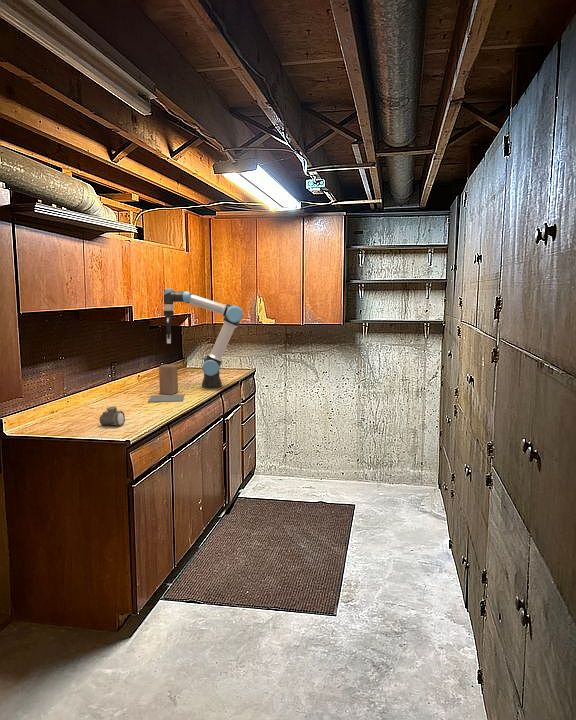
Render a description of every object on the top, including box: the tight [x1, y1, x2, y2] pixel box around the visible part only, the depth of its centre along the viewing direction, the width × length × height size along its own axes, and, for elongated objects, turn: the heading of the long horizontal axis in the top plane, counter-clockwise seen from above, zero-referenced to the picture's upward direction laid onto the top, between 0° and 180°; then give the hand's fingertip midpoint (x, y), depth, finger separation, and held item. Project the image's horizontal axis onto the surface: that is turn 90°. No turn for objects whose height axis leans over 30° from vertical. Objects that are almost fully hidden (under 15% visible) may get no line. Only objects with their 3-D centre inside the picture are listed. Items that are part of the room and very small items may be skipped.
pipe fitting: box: [99, 405, 126, 427], centre depth 291 cm, size 12×8×10 cm
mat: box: [147, 394, 185, 403], centre depth 366 cm, size 22×22×1 cm
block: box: [158, 363, 179, 395], centre depth 386 cm, size 10×10×20 cm
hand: (168, 343), depth 397 cm, fingers closed
